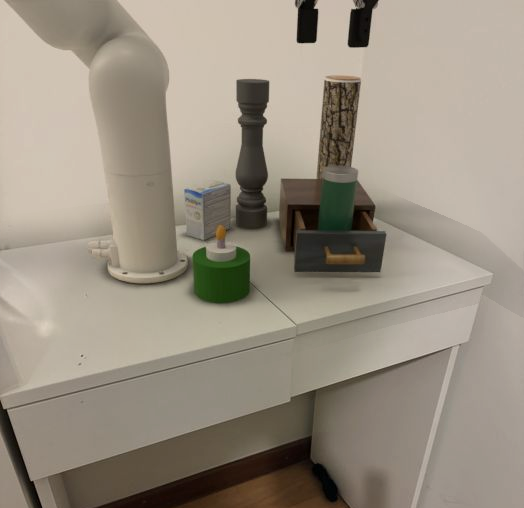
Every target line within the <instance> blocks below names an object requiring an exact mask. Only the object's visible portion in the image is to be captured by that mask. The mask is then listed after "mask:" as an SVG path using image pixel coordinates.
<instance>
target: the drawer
mask: <svg viewBox="0 0 524 508" xmlns="http://www.w3.org/2000/svg"><path fill="white" fill-rule="evenodd" d="M318 221H319V210H300V209H293V219H292V240H293V244H294V248H295V251H294V262H293V272H295V273H381V271H382V266H383V265H382V264H383V259H384V252H385V246H386V240H387V236H388V235H387V232H386V230H378V228H377V227H376V225H375V224H374V221H373V222H372V220H371V219H370V217H369V216H368V214H367V213H366V211H365V210H354V212H353V220H352V228H351V231H321V230H318Z"/></svg>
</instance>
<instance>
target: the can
mask: <svg viewBox="0 0 524 508" xmlns="http://www.w3.org/2000/svg"><path fill="white" fill-rule="evenodd" d="M358 177H359V170H358V169H357V168H355V167H353V166H351V167H349V166H338V165H336V166H327V167H325V168H324V169H323V177H322V187H321V198H320V210H319V221H318V230H321V231H351V228H352V220H353V212H354V203H355V195H356V187H357V180H358Z"/></svg>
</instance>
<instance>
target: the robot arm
mask: <svg viewBox="0 0 524 508" xmlns="http://www.w3.org/2000/svg"><path fill="white" fill-rule="evenodd" d="M379 1H380V0H352V2H353V4H354V7H355V8H350V14H349V22H348V23H349V24H348V25H349V26H348V34H347V46H348V48H350V49H353V48H354V49H355V48H368V47H369V44H370V35H371V29H372V28H371V27H372V19H373V10H376V9H377V8H378V5H379ZM3 2H5V3H6V4H7V5H8V6H9V7H10V8H11V9H12V10H13V11H14V12H15V13H16V14H17V15H18V17H20V18H21V19H22V20H23V22H24V23H25V24H26V25H27V26H28V27H29V28H30V29H31V30H32V32H34V34H35V35H36V36H37V37H38V38H40V39H41V40H42V41H43V42H44V43H45V44H47V45H49V46H51V47H53V48H54V49H58V50H61V51H70V52H72V53H73V54H74V55H75V56H76V57H77V58H78V60H80V61H81V62H82V63H83V65H85V66H86V67H87V68H88V69H89V71H88V92H89V97H90V98H89V99H90V103H91V107H92V111H93V116H94V120H95V125H96V129H97V134H98V139H99V146H100V152H101V158H102V167H103V172H104V178H105V179H104V180H105V186H106V192H107V193H106V194H107V199H108V206H109V214H110V220H111V221H110V222H111V228H112V234H113V235H112V237H113V238H109V239H108V240H107V241H101V240H88V241H87V251H88V253H89V254H91V256H92V258H93V259H103V258H107V259H108V260H107V264H106V265H107V272H108V273H109V275H110V276H111V277H113V278H115V279H116V280H119V281H122V282H126V283H131V284H155V283H161V282H166V281H169V280H172V279H175V278H177V277H179V276H181V275H182V274H184V273H185V272H186V270H187V269H188V267H189V261H188V257H187V255H186V254H185V253H184V252H182V251H181V250H179V249H178V244H177V243H178V242H177V230H176V216H175V215H176V213H175V201H174V200H175V199H174V187H173V186H174V185H173V173H172V171H173V169H172V159H171V158H172V157H171V145H170V136H169V135H170V134H169V124H168V113H167V91H168V88H169V84H170V68H169V65H168V62H167V59H166V56H165V55H164V53H163V52H162V50H161V49H160V47H159V46H158V45H157V44H156V42H155V41H154V40H153V39H152V38H151V37H150V36H149V35H148V33H147V32H146V31H145V30H144V29H143V28H142V27H141V25H140V24H139V23H138V22H137V21H136V20H135V19H134V17H133V16H132V15H131V14H130V13H129V12H128V11H127V10H126V8H125V7H124V6H123V5H122V4H121V3H120V2H119V1H118V0H3ZM318 2H319V0H294V6H295V8H296V9H297V18H296V20H297V21H296V43H297V44H315V43H316V42H317V40H318V25H319V8H315V7H316V6H317V4H318Z"/></svg>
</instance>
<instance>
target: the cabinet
mask: <svg viewBox="0 0 524 508" xmlns="http://www.w3.org/2000/svg"><path fill="white" fill-rule="evenodd" d="M279 187H280V188H279V206H278V207H279V209H278V210H279V211H278V222H279V227H280V232H281V237H282V242H283V247H284V248H283V249H284V251H285V252H295V248H294V244H293V240H292V219H293V209H300V210H320V198H321V187H322V179H316V178H280V185H279ZM354 210H365V211H366V213H367V214H368V216H369V217H370V219H371V220H372V222H373V223H374V220H375V219H374V218H375V210H376V204H375V203H374V201H373V200H372V198H371V197H370V196H369V194H368V193H367V191H366V190H365V188H364V187H363V186H362V184H361V183H360V181H359V180H358V179H357V187H356V195H355V203H354Z"/></svg>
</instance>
